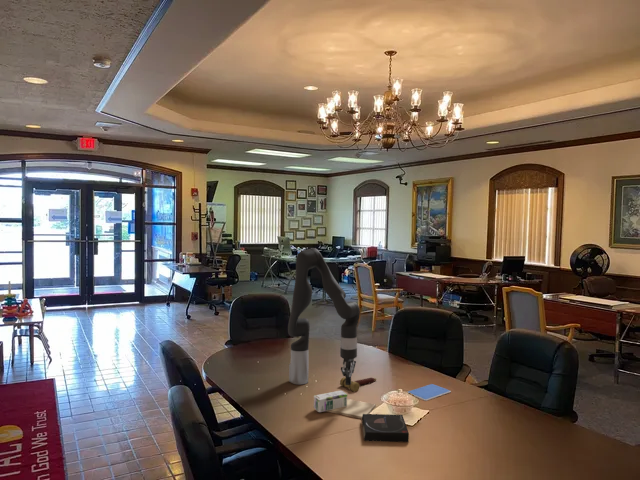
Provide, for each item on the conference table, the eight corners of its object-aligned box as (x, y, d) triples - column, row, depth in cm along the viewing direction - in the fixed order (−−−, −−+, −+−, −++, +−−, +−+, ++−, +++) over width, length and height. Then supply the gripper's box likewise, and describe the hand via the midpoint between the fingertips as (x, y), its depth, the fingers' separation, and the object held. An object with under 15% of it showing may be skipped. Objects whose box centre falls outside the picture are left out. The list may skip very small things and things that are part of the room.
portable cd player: (361, 423, 193) (361, 413, 192) (402, 424, 192) (402, 414, 192) (363, 442, 176) (364, 432, 176) (408, 443, 176) (408, 433, 176)
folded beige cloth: (321, 410, 204) (321, 408, 204) (335, 398, 217) (335, 396, 217) (364, 419, 195) (364, 417, 195) (375, 406, 209) (375, 404, 209)
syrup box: (347, 406, 206) (319, 413, 199) (340, 401, 211) (312, 407, 204) (347, 394, 206) (319, 400, 199) (341, 389, 211) (313, 395, 204)
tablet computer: (425, 402, 215) (425, 399, 215) (405, 394, 225) (405, 391, 225) (451, 393, 227) (451, 390, 227) (431, 385, 237) (431, 383, 237)
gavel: (369, 372, 246) (383, 377, 238) (369, 380, 246) (382, 386, 238) (340, 377, 233) (353, 383, 226) (339, 386, 233) (352, 392, 226)
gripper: (350, 351, 199) (350, 390, 200) (361, 344, 211) (361, 381, 211) (335, 349, 202) (334, 387, 203) (346, 342, 214) (346, 378, 215)
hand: (348, 384), depth 207 cm, fingers closed
